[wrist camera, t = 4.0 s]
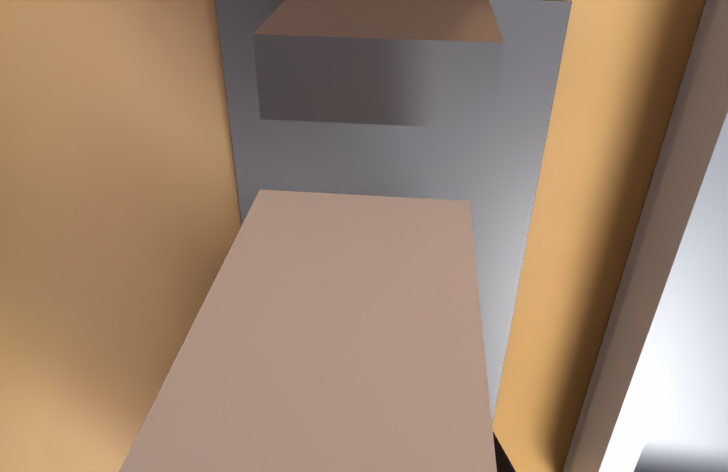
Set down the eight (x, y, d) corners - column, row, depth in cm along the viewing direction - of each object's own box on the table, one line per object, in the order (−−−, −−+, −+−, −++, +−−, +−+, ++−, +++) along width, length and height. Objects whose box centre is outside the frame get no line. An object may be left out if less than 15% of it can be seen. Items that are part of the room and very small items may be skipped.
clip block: (469, 528, 25) (475, 633, 22) (280, 510, 26) (257, 610, 22) (567, -4, 14) (611, 46, 10) (220, -14, 14) (154, 31, 11)
